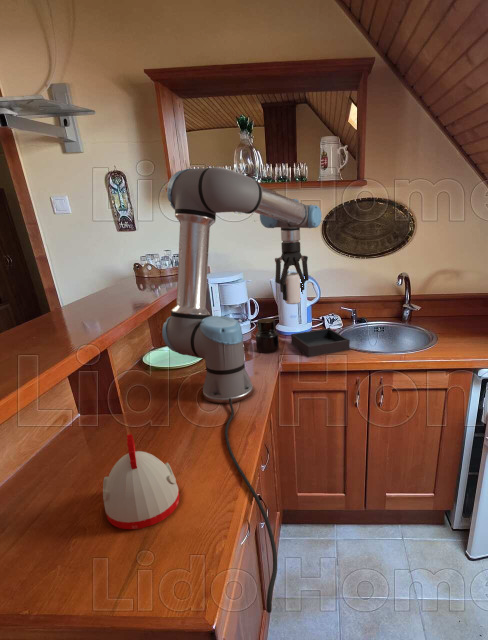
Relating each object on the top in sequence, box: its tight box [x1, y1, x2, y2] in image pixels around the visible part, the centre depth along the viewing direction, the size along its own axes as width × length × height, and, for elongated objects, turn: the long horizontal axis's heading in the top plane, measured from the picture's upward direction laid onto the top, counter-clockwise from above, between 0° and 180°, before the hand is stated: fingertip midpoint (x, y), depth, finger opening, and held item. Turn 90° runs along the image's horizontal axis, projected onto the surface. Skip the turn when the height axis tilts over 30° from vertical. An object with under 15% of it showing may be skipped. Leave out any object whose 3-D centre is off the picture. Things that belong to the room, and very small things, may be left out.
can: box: [284, 271, 302, 305], centre depth 174 cm, size 6×6×12 cm
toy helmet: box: [102, 433, 181, 530], centre depth 81 cm, size 14×14×15 cm
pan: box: [290, 328, 350, 358], centre depth 168 cm, size 18×18×4 cm
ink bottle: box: [255, 317, 280, 354], centre depth 165 cm, size 10×9×12 cm
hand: (292, 298), depth 176 cm, fingers closed on can, 6 cm apart
